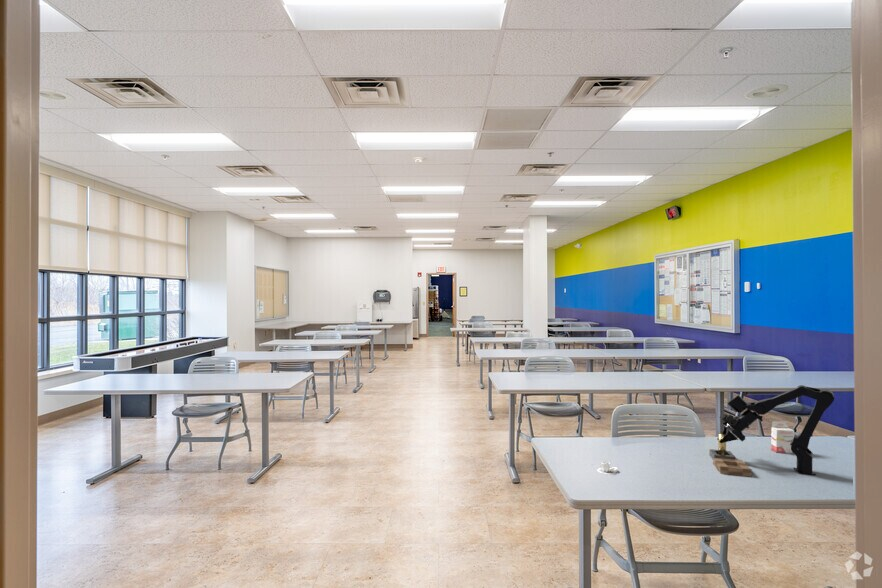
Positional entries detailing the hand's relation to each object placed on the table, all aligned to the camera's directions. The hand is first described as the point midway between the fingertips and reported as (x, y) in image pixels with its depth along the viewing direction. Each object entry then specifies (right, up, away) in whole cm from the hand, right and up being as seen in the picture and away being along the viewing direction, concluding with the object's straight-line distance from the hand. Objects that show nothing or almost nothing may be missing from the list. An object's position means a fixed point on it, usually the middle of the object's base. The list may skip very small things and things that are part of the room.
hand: (719, 441), depth 231 cm
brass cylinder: (+1, -8, 0) cm, 8 cm away
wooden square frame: (-3, -9, -15) cm, 17 cm away
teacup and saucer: (-59, -9, -19) cm, 63 cm away
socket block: (+1, -9, 0) cm, 9 cm away
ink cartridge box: (+39, -9, +11) cm, 42 cm away
